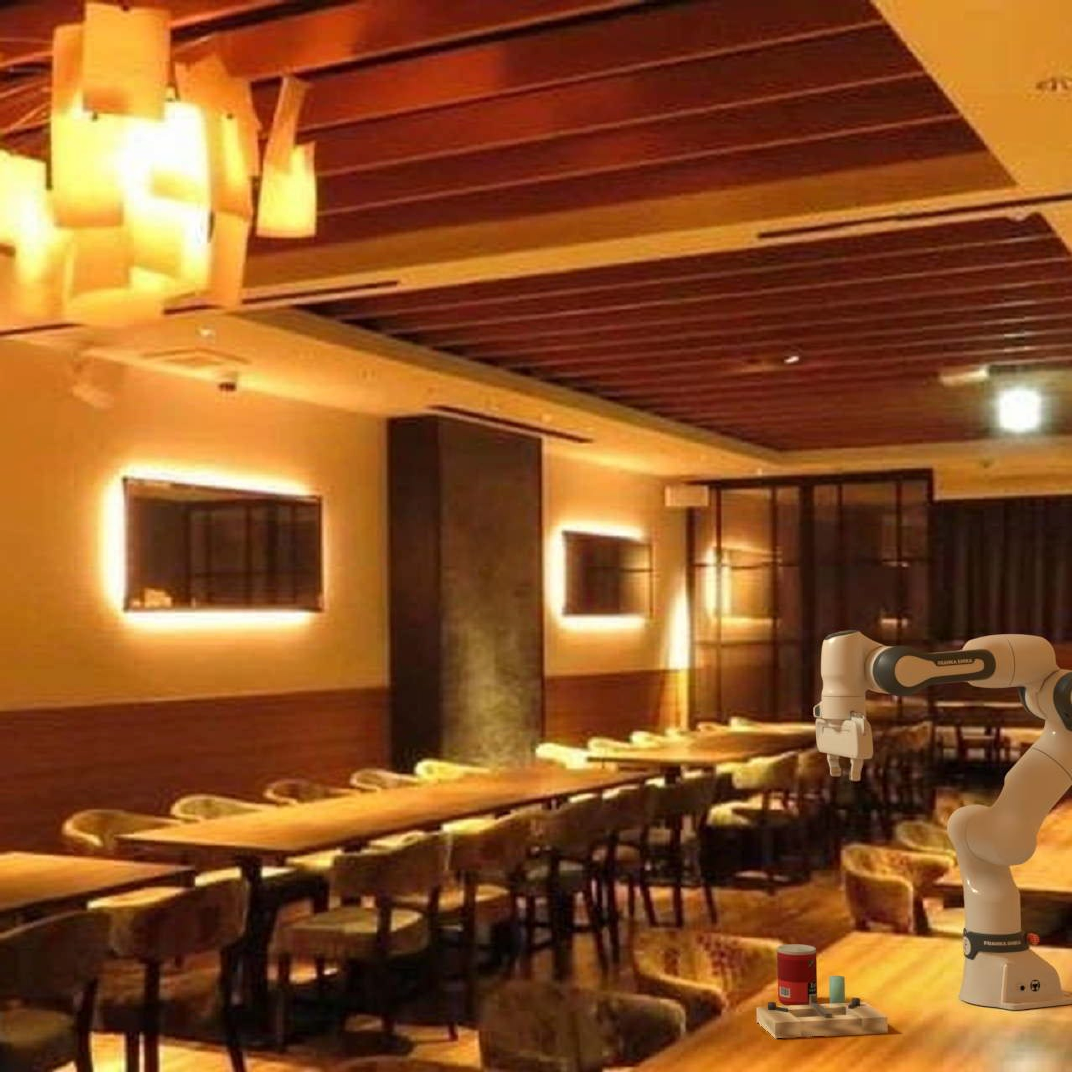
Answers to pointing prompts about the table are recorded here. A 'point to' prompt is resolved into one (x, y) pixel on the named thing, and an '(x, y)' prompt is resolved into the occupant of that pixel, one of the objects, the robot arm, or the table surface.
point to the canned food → (796, 973)
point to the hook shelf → (821, 1019)
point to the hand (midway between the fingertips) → (845, 778)
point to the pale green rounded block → (837, 989)
